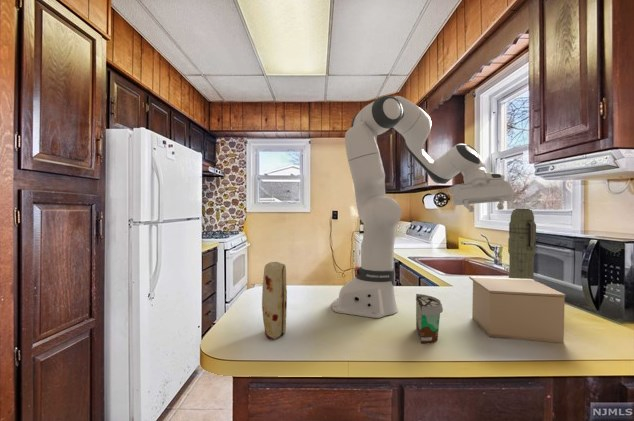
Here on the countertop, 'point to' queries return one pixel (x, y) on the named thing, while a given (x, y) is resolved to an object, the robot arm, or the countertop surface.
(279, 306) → the food model
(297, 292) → the countertop surface
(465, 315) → the countertop surface
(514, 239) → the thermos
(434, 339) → the food container
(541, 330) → the carton
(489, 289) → the flap
